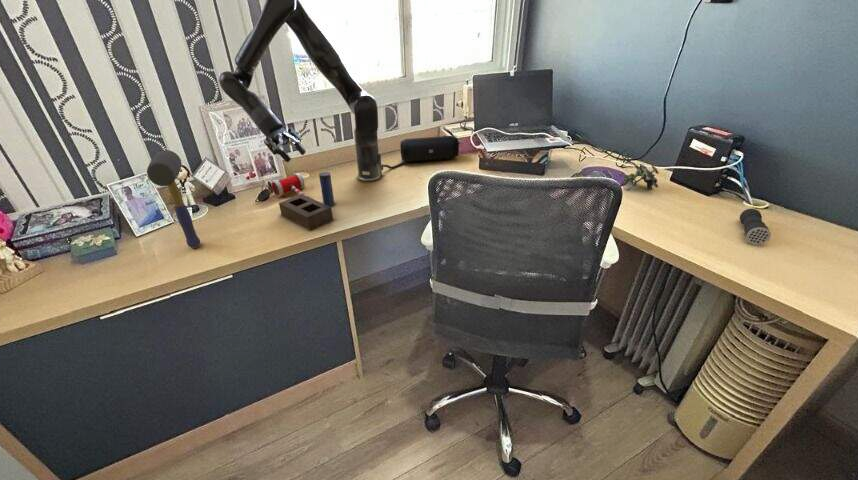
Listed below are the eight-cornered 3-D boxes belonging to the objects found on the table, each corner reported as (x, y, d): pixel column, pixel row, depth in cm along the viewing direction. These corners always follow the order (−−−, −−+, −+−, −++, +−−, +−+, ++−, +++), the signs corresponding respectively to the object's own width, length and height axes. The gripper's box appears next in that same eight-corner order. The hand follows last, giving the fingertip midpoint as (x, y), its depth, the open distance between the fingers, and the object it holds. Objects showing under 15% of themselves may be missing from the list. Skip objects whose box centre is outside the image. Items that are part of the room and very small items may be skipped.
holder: (304, 206, 156) (301, 193, 153) (333, 220, 146) (331, 207, 143) (281, 215, 150) (278, 202, 147) (310, 230, 140) (307, 217, 137)
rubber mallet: (204, 254, 130) (169, 160, 113) (179, 258, 129) (140, 163, 111) (209, 235, 140) (178, 146, 122) (186, 239, 139) (151, 149, 121)
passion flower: (643, 202, 160) (668, 184, 149) (619, 200, 157) (643, 182, 146) (635, 177, 164) (660, 158, 153) (612, 175, 161) (635, 155, 150)
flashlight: (735, 220, 135) (743, 205, 131) (755, 223, 133) (763, 208, 129) (743, 242, 124) (751, 226, 120) (765, 246, 122) (774, 230, 118)
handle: (330, 201, 159) (325, 171, 152) (336, 204, 156) (332, 173, 149) (321, 205, 156) (316, 174, 149) (328, 207, 154) (323, 176, 147)
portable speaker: (403, 165, 187) (402, 143, 181) (400, 158, 194) (399, 136, 189) (458, 161, 188) (459, 139, 182) (454, 154, 196) (455, 132, 190)
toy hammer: (330, 201, 159) (327, 185, 155) (303, 211, 152) (300, 195, 149) (297, 185, 172) (295, 170, 169) (272, 194, 166) (269, 179, 162)
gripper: (256, 118, 141) (288, 156, 143) (283, 109, 151) (313, 145, 154) (248, 133, 146) (279, 169, 149) (275, 122, 156) (304, 157, 159)
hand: (296, 157), depth 151 cm, fingers open, 8 cm apart
